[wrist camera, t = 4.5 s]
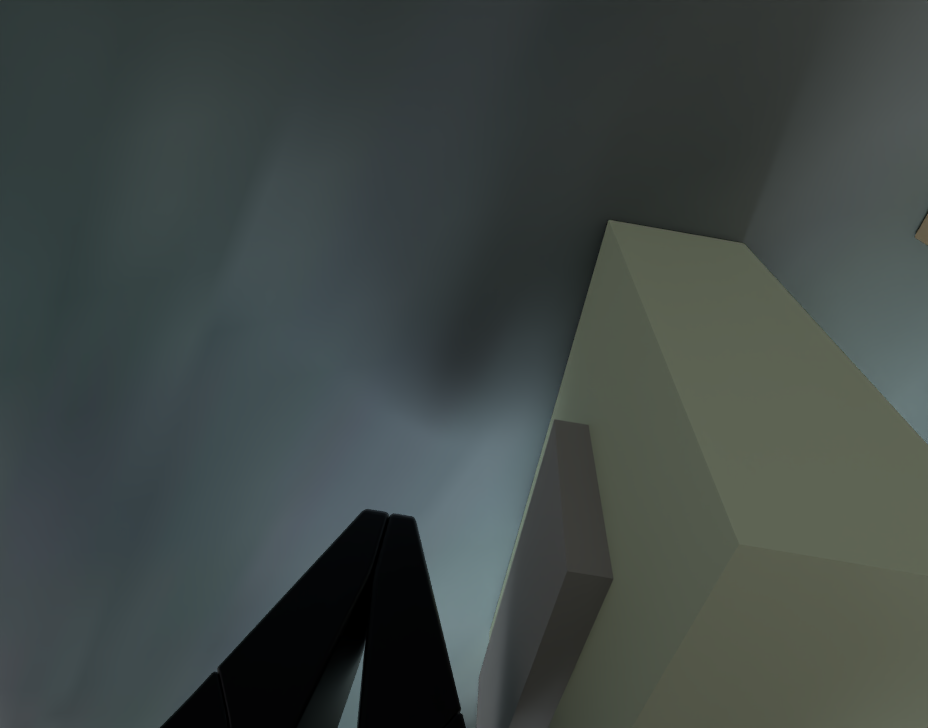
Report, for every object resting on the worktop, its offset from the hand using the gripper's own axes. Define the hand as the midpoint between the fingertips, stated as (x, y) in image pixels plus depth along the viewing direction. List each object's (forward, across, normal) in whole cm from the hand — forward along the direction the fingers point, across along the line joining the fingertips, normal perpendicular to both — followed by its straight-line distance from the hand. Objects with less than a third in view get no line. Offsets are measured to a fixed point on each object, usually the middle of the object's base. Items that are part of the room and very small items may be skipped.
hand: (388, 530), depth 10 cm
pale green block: (+2, -3, 0) cm, 4 cm away
